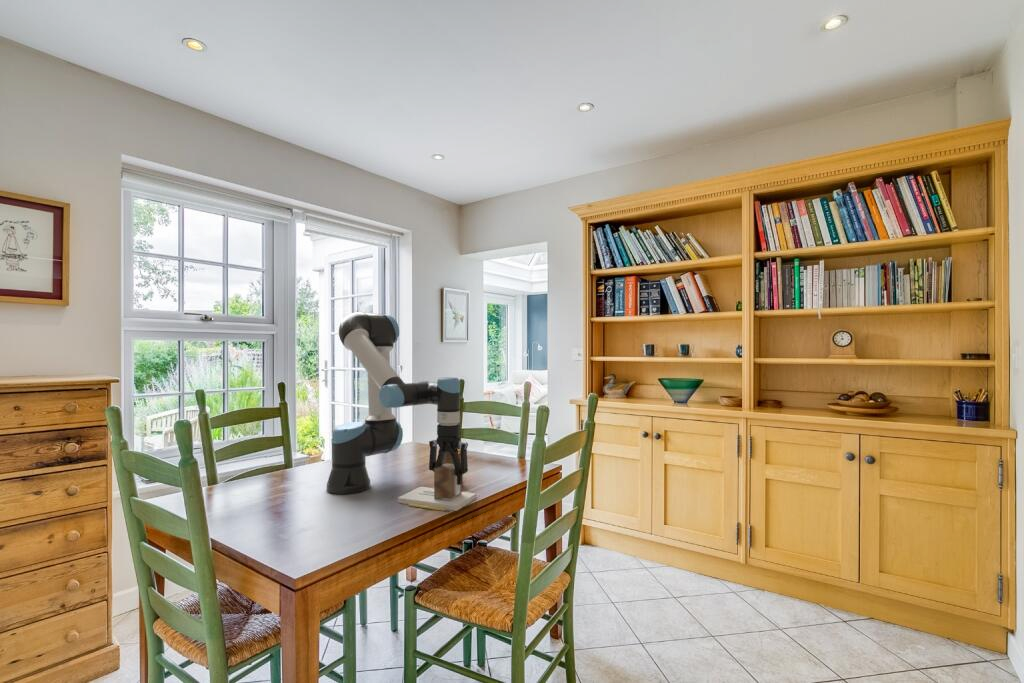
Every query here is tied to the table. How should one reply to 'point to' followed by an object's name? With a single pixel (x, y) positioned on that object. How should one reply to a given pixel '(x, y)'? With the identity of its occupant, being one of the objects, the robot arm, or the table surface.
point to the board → (427, 499)
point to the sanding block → (445, 482)
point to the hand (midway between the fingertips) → (448, 492)
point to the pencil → (429, 507)
